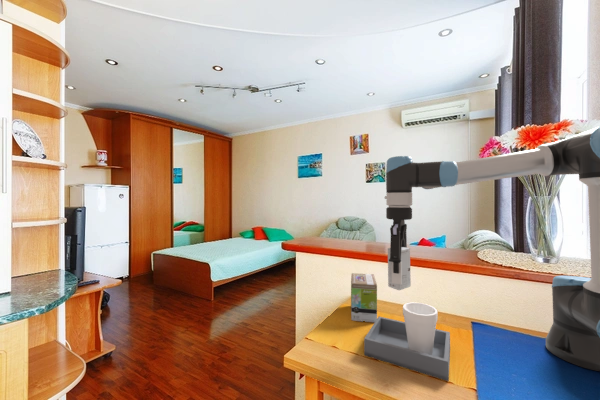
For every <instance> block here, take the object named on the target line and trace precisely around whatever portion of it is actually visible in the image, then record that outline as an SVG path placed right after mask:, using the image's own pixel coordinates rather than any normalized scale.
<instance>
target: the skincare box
mask: <svg viewBox="0 0 600 400" xmlns="http://www.w3.org/2000/svg"><path fill="white" fill-rule="evenodd" d="M389 259H390V247H388V248H387V281H388V282H387V283H388V284H387V285H388V287H389V288H391V289H393V290H397V291H401V290H406V289H407V288H410V287H411V285H412V283H411V282H412V281H411V248H409V247H407V248H406V247H402V248H401V262H402V284H395V283H392V262H390V261H389Z"/></svg>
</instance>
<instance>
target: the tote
mask: <svg viewBox="0 0 600 400" xmlns="http://www.w3.org/2000/svg"><path fill="white" fill-rule="evenodd" d="M363 342H364V343H363V344H364V345H363V347H364V348H363V349H364V351H363V352H364V356H366V357H368V358H369V357H370V358H371V359H375V360H379V361H381V362H385V363H389V364H391V365H394V366H398V367H400V368H401V367H402V368H404V369H407V370H411V371H414V372H417V373H421V374H423V375H427V376H430V377H433V378H435V379H436V378H437V379H440V380H443V381H446V382H449V380H450V379H449V378H450V362H451V361H450V360H451V359H450V358H451V332H450V331H447V330H442V329H435V337H434V345H433V352H432V355H429V354H425V353H421V352H418V351H414V350H410V349H409V346H408V340H407V333H406V326H405V321H402V320H401V321H400V320H397V319H392V318H388V317H385V316H384V317H383V316H377V320H376V321H375V322H373V325H372V326H371V328H369V331H368V332H367V334H366V335H365V337H364V339H363Z"/></svg>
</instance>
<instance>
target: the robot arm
mask: <svg viewBox="0 0 600 400" xmlns="http://www.w3.org/2000/svg"><path fill="white" fill-rule="evenodd" d="M385 170H386V171H385V186H386V188H385V189H386V195H385V196H384V199H385V201H386V203H385V204H386V206H388V207H387V208H385V209H386V210H385V212H386V214H385V215H386V217H385V218H386V219H388V220H393V221H392V224H391V227H390V228H389V230H390V247H389V248H390V259H389V261H390V262H392V283H395V284H402V262H401V248H402V247H406V248H408V247H407V246H408V244H407V243H408V242H407V241H408V240H407V238H408V237H407V229H408V228H407V225H408V224H407V223H405V222H406V221H407V220H408V221H410V220H412V218H413V208H412V207H411V206H412V205H413V188H422V189H424V190H433V189H436V188H437V189H438V188H449V187H455V186H457V185H458V186H459V185H465V184H473V183H481V182H488V181H495V180H503V179H510V178H516V177H517V178H518V177H524V176H525V177H526V176H531V175H532V176H533V175H537V174H538V175H541V176H543V177H549V176H550V177H551V176H557V175H558V176H560V175H578V180H579V182H581V183H583V184H585V185H586V187H587V189H588V190H587V191H588V195H587V196H588V216H589V217H588V218H589V219H588V220H589V225H588V226H589V243H590V246H589V247H590V249H589V250H590V277H588V276H587V277H586V276H577V275H576V276H575V275H556V276H554V277H553V278H552V284H551V289H552V291H551V292H552V293H551V295H552V319H553V320H552V324H551V326H550V329H549V331H548V333H547V335H546V337H545V347H546V349H547V350H548V351H549V352H550V353H551V354H552V355H554V356H556V357H557V358H559V359H561V360H563V361H565V362H568V363H570V364H572V365H575V366H578V367H581V368H584V369H588V370H590V371H591V370H592V371H596V372H600V126H597V127H594V128H592V129H589V130H586V131H583V132H581V133H580V132H579V133H577V134H575V135H572V136H569V137H567V138H564V139H561V140H557V141H555V142H549V143H545V144H540V145H538V146H537V147H536V148H535V149H529V150H522V151H517V152H511V153H505V154H499V155H493V156H487V157H481V158H480V157H479V158H475V159H468V160H462V161H450V160H449V161H447V160H446V161H445V160H442V161H428V162H413V158H412V157H411V156H410V155H409V156H408V155H399V156H392V157H389V158H388V159H387V160H386V169H385Z"/></svg>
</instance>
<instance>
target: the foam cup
mask: <svg viewBox="0 0 600 400" xmlns="http://www.w3.org/2000/svg"><path fill="white" fill-rule="evenodd" d="M402 315H403V320H404V322H405V326H406V333H407V340H408V346H409V349H410V350H414V351H418V352H421V353H425V354H429V355H432V352H433V345H434V337H435V329H436V327H437V322H438V316H439V315H438V310H437V308H435V306H433V305H430V304H427V303H423V302H416V301H414V302H413V301H412V302H406V303H404V304H403V306H402Z"/></svg>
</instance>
